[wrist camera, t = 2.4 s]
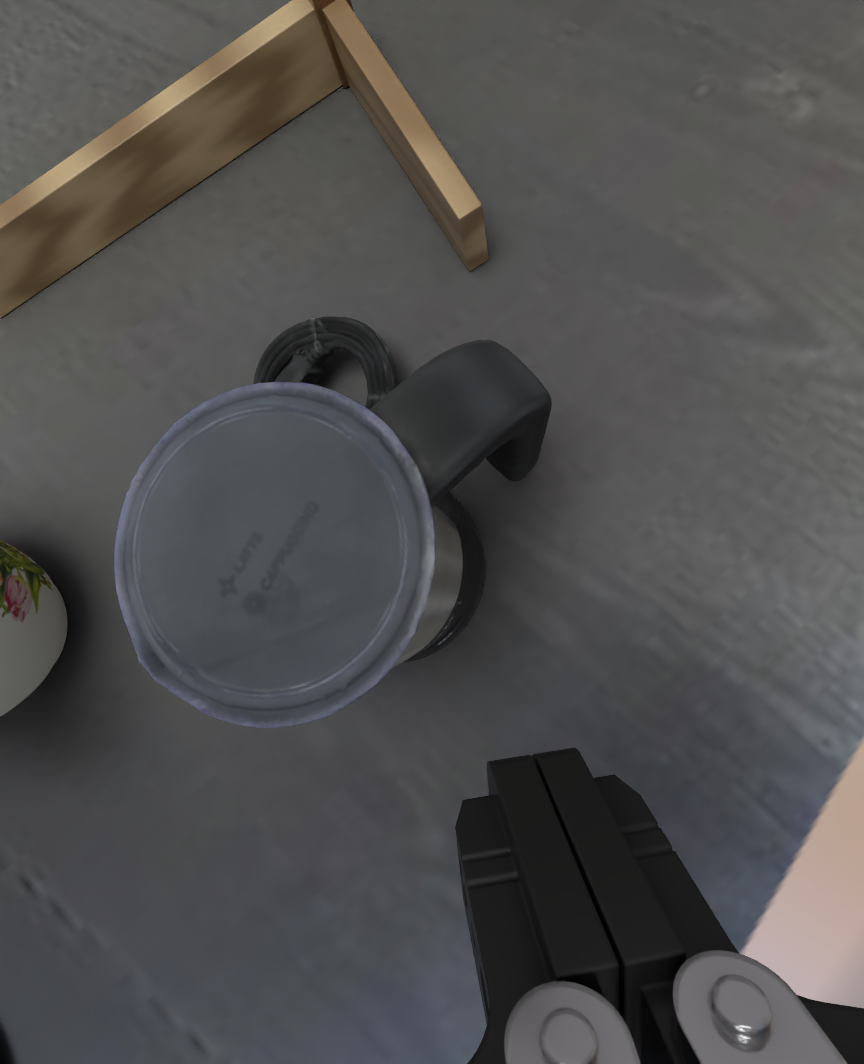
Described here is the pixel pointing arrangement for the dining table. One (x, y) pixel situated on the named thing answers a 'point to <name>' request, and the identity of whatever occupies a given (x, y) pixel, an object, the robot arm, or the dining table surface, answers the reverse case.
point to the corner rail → (225, 144)
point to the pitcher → (27, 626)
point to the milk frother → (317, 524)
